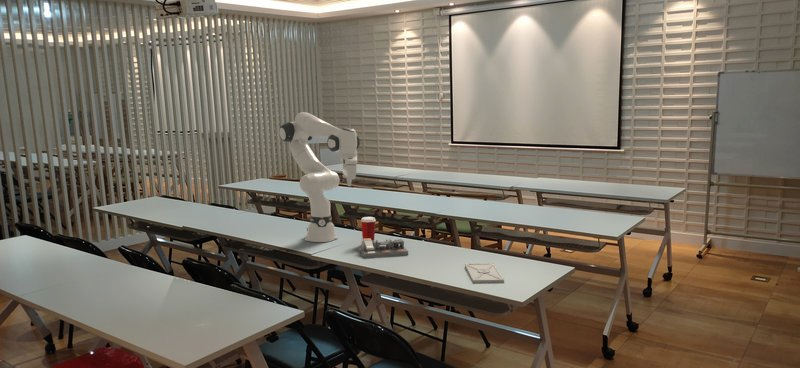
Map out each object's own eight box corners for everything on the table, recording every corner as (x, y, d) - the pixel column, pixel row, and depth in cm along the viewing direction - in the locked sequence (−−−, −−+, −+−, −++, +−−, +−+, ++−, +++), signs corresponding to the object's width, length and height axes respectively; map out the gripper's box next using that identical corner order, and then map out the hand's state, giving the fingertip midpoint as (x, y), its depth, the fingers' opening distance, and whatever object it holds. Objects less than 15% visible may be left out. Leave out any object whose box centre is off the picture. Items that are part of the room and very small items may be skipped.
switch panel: (359, 251, 310) (359, 240, 309) (401, 248, 315) (401, 237, 314) (364, 257, 296) (364, 246, 295) (408, 254, 302) (408, 244, 301)
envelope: (473, 284, 256) (504, 283, 257) (473, 279, 256) (504, 279, 256) (464, 267, 280) (493, 267, 280) (464, 263, 279) (493, 262, 280)
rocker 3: (391, 245, 313) (390, 243, 313) (398, 245, 314) (398, 242, 314) (395, 242, 303) (394, 239, 304) (402, 241, 304) (402, 239, 305)
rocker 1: (363, 240, 309) (363, 238, 309) (370, 240, 310) (370, 238, 310) (366, 250, 301) (366, 248, 300) (374, 250, 301) (374, 247, 301)
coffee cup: (376, 243, 326) (376, 216, 324) (374, 246, 318) (374, 219, 316) (362, 242, 327) (361, 216, 325) (359, 246, 319) (359, 219, 317)
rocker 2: (377, 245, 311) (377, 242, 311) (384, 244, 312) (384, 242, 312) (380, 244, 302) (380, 241, 302) (388, 243, 302) (388, 241, 303)
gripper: (339, 157, 311) (340, 183, 313) (345, 161, 291) (346, 189, 293) (351, 157, 312) (352, 182, 314) (358, 161, 292) (358, 188, 294)
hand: (349, 185), depth 303 cm, fingers closed
